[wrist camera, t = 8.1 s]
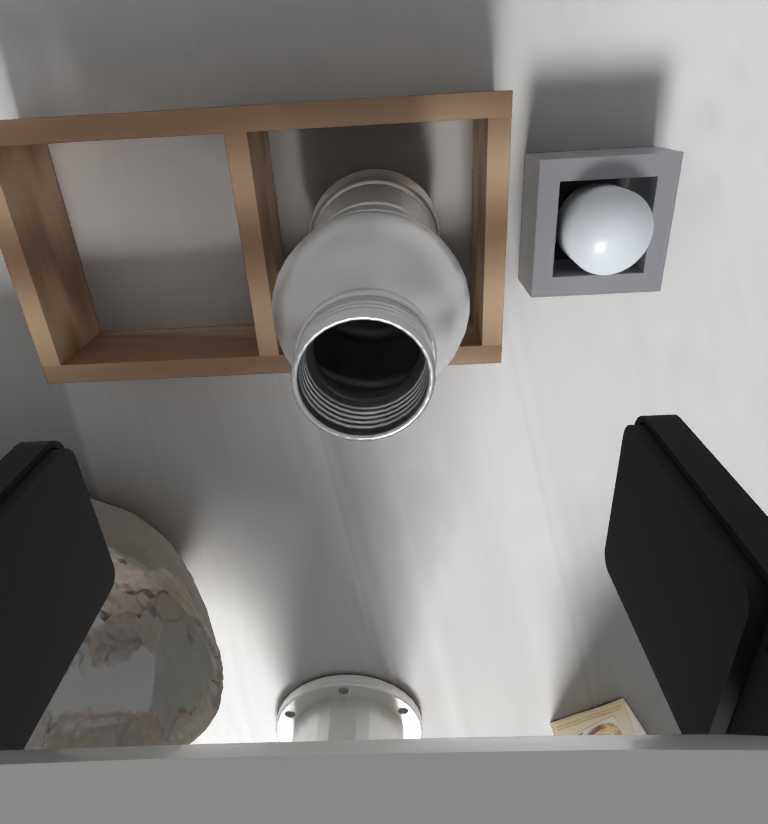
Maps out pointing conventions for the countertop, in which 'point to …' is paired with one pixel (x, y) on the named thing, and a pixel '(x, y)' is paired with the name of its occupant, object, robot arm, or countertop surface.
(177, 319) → the countertop surface
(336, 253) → the plastic bottle
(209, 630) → the ceramic bowl
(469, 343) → the walnut bottle rack
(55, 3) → the countertop surface
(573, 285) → the button housing
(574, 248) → the white domed push button
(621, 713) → the coffeecake box
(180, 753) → the robot arm
